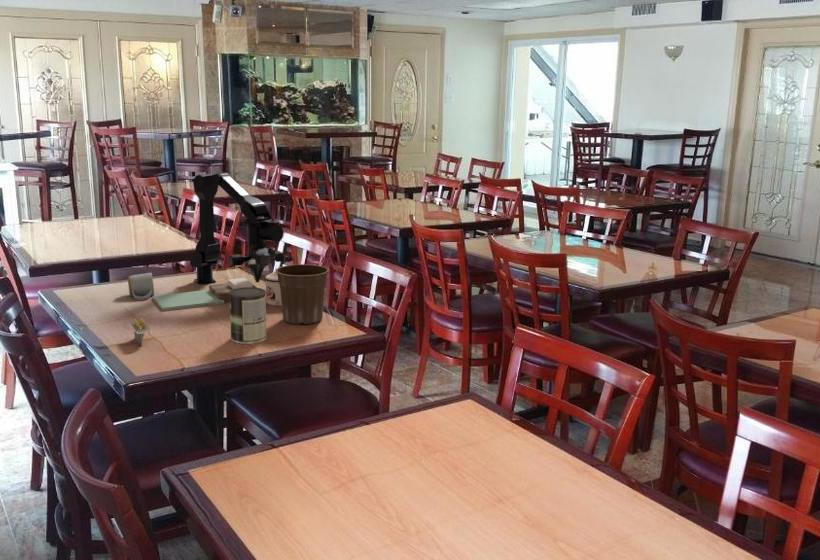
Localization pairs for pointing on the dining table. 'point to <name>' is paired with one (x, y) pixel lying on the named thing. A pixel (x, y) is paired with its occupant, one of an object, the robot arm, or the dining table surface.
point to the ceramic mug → (141, 286)
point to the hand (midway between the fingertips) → (257, 282)
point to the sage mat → (186, 300)
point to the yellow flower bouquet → (137, 331)
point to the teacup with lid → (273, 290)
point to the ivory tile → (239, 283)
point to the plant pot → (302, 292)
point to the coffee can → (248, 315)
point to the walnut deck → (222, 291)
